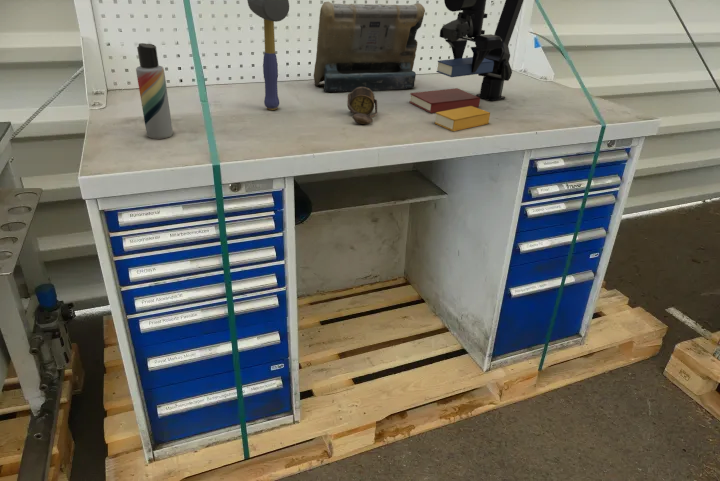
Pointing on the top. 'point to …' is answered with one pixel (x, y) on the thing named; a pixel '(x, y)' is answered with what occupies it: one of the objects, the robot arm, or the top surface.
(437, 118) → the top book
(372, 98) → the brown round dial piece
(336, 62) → the tablet
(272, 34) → the rubber mallet
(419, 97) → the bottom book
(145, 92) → the lotion bottle
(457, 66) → the middle book
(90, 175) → the top surface
